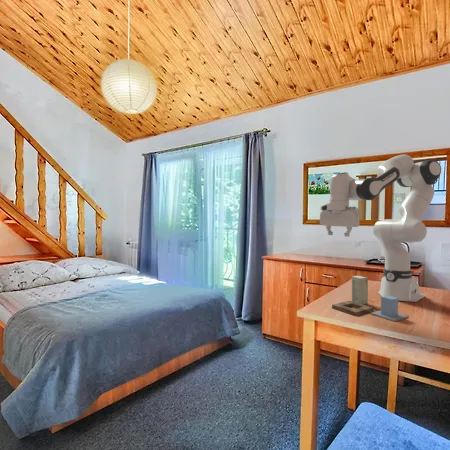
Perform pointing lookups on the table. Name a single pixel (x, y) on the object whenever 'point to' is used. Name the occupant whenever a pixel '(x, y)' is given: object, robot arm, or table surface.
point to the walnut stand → (345, 308)
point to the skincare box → (360, 289)
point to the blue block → (389, 306)
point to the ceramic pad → (394, 318)
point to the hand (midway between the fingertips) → (338, 235)
